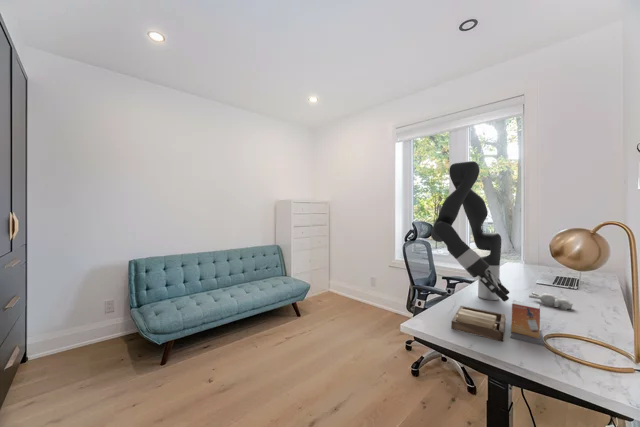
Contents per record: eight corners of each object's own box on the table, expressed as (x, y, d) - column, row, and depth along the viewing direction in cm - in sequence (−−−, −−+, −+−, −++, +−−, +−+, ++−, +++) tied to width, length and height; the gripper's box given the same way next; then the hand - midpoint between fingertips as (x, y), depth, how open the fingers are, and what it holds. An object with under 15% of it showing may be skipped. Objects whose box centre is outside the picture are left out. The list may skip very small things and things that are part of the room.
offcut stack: (459, 323, 105) (459, 308, 105) (496, 332, 98) (496, 316, 98) (456, 328, 101) (456, 312, 101) (495, 338, 93) (495, 321, 93)
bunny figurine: (570, 303, 116) (528, 291, 128) (568, 314, 117) (526, 301, 128) (574, 299, 122) (534, 287, 134) (572, 309, 123) (532, 297, 134)
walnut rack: (460, 312, 116) (460, 305, 116) (505, 321, 106) (505, 314, 106) (451, 328, 100) (451, 320, 100) (502, 341, 90) (503, 332, 90)
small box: (511, 332, 96) (511, 303, 96) (512, 326, 100) (512, 299, 100) (539, 339, 91) (540, 308, 91) (539, 333, 95) (540, 304, 95)
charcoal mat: (511, 325, 103) (511, 324, 103) (541, 332, 97) (541, 330, 97) (510, 337, 93) (510, 335, 93) (543, 345, 88) (543, 343, 88)
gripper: (478, 259, 98) (516, 296, 91) (481, 254, 109) (516, 286, 103) (461, 271, 101) (497, 308, 94) (467, 265, 112) (499, 297, 106)
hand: (507, 297), depth 98 cm, fingers open, 8 cm apart
